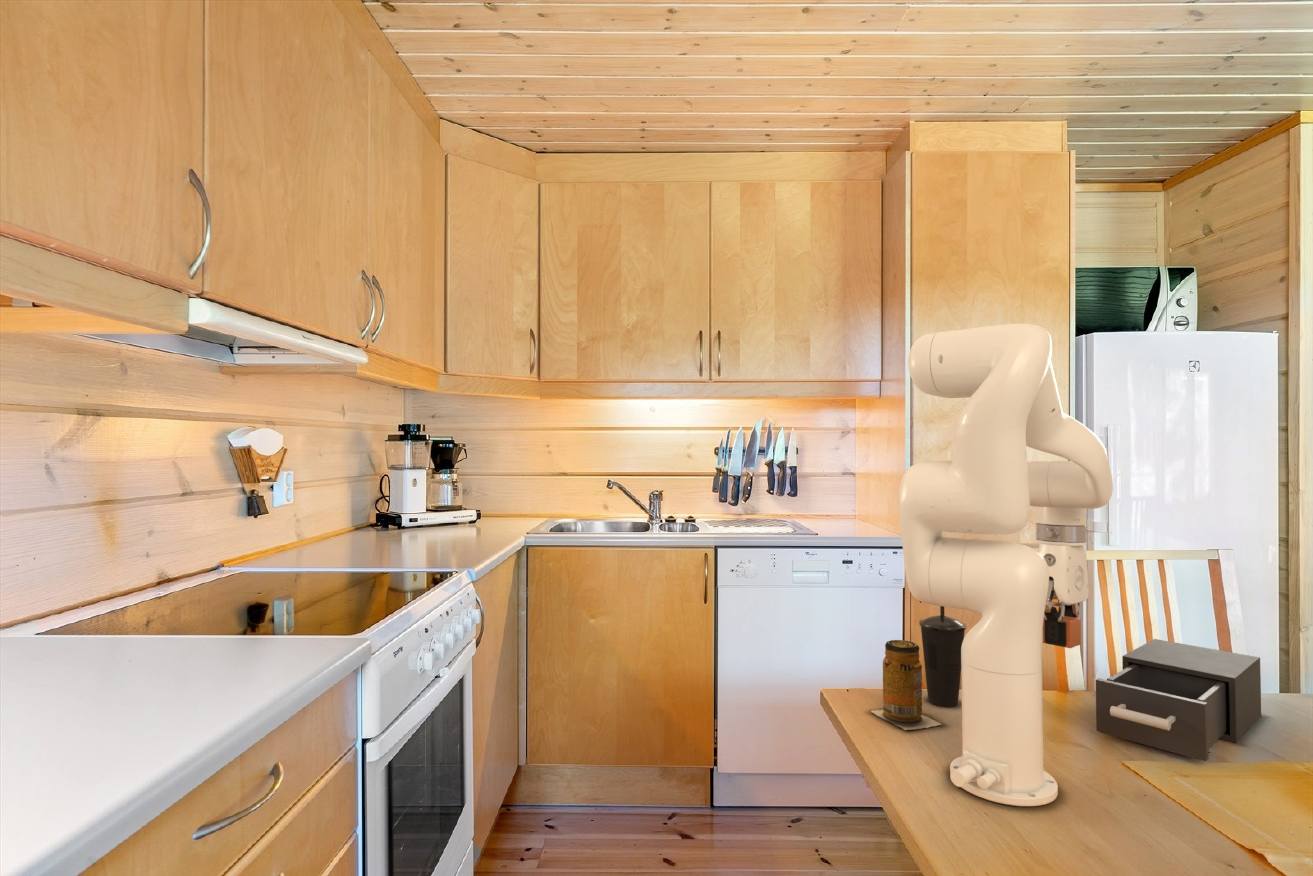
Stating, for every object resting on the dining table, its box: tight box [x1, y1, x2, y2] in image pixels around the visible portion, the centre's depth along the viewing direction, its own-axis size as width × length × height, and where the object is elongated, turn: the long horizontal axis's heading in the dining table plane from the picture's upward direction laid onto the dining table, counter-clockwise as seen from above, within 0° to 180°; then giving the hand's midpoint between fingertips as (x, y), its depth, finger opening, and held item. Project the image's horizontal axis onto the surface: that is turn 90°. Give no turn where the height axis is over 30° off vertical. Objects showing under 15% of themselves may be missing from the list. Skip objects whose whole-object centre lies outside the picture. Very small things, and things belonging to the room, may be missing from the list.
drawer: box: [1095, 663, 1228, 762], centre depth 103 cm, size 20×13×8 cm
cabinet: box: [1121, 638, 1262, 744], centre depth 113 cm, size 17×15×10 cm
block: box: [1042, 616, 1082, 649], centre depth 117 cm, size 4×4×4 cm
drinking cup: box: [918, 606, 967, 708], centre depth 119 cm, size 8×8×20 cm
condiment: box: [870, 639, 943, 731], centre depth 112 cm, size 7×8×12 cm
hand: (1061, 641), depth 117 cm, fingers closed on block, 4 cm apart
